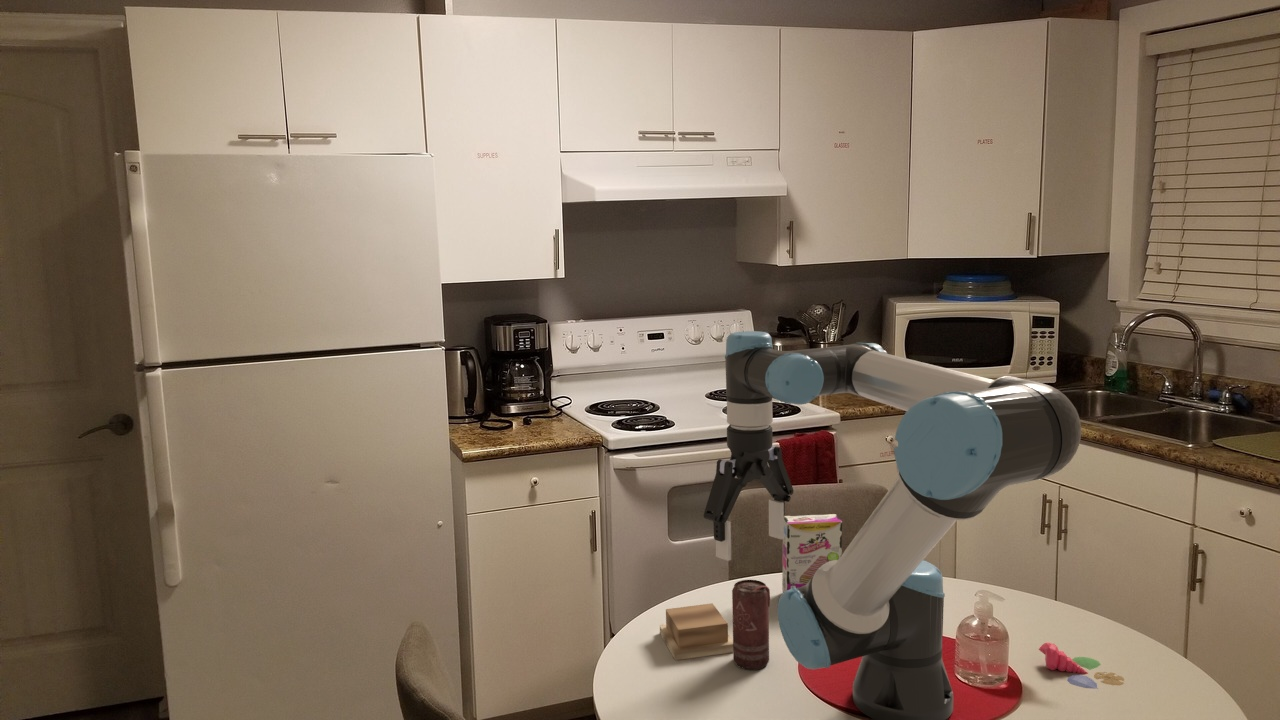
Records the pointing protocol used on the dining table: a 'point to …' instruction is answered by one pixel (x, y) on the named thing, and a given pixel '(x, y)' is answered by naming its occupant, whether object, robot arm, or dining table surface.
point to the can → (750, 624)
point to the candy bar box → (809, 546)
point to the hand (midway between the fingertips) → (750, 547)
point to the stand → (696, 632)
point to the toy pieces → (1077, 667)
